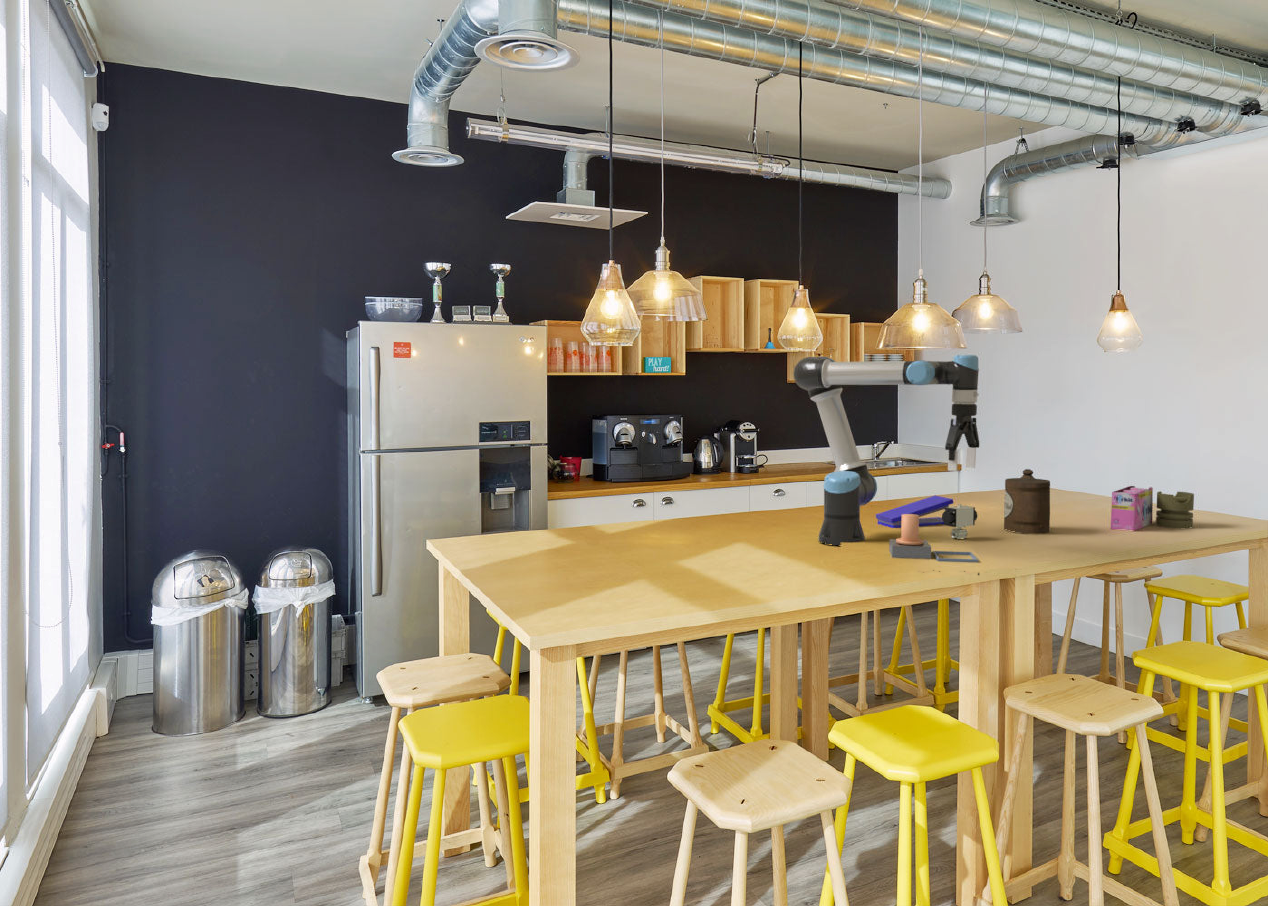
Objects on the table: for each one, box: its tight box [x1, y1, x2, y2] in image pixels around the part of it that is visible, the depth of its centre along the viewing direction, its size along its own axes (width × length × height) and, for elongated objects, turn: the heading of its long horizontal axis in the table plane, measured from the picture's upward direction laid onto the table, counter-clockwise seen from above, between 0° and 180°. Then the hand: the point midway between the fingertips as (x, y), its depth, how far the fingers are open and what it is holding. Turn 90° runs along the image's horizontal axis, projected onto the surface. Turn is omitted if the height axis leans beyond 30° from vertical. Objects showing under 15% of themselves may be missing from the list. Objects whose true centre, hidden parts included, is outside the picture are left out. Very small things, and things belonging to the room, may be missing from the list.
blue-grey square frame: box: [932, 550, 979, 563], centre depth 250 cm, size 11×11×2 cm
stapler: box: [875, 494, 954, 529], centre depth 318 cm, size 12×28×10 cm, turn 108°
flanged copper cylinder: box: [896, 514, 925, 545], centre depth 255 cm, size 8×8×12 cm
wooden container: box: [1003, 468, 1051, 534], centre depth 301 cm, size 15×15×22 cm
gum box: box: [1110, 485, 1154, 532], centre depth 308 cm, size 24×8×14 cm, turn 134°
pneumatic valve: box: [941, 503, 978, 540], centre depth 287 cm, size 6×12×12 cm, turn 114°
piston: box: [1155, 490, 1195, 529], centre depth 307 cm, size 11×12×11 cm
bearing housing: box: [888, 538, 932, 560], centre depth 256 cm, size 11×11×5 cm
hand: (961, 469), depth 273 cm, fingers open, 13 cm apart
